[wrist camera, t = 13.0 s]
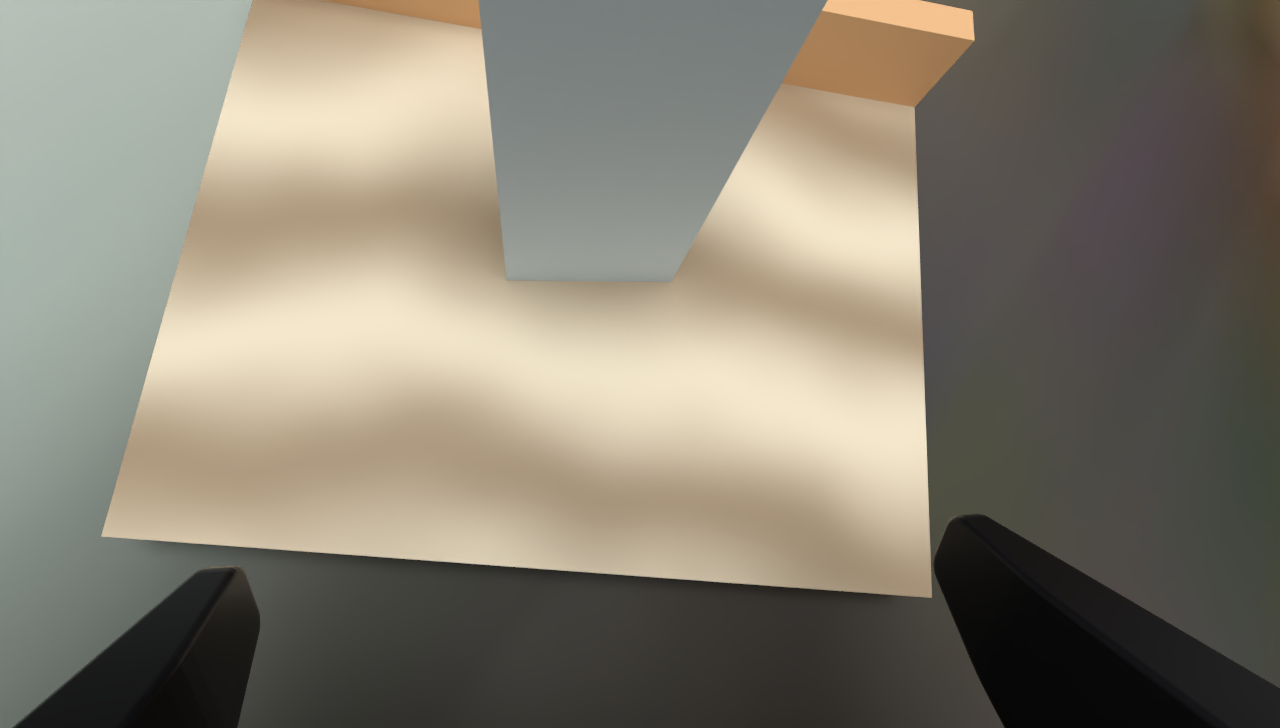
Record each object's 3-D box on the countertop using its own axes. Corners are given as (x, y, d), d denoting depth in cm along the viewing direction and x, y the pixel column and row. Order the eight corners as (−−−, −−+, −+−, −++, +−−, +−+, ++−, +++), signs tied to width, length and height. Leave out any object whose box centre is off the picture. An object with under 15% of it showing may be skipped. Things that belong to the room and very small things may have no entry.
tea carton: (670, 281, 18) (964, -248, 6) (506, 280, 18) (445, -331, 5) (662, 146, 19) (896, -548, 7) (506, 139, 19) (454, -652, 6)
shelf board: (892, 591, 19) (932, 597, 17) (150, 535, 17) (100, 536, 15) (882, 117, 23) (913, 80, 21) (288, 13, 21) (263, -40, 19)
